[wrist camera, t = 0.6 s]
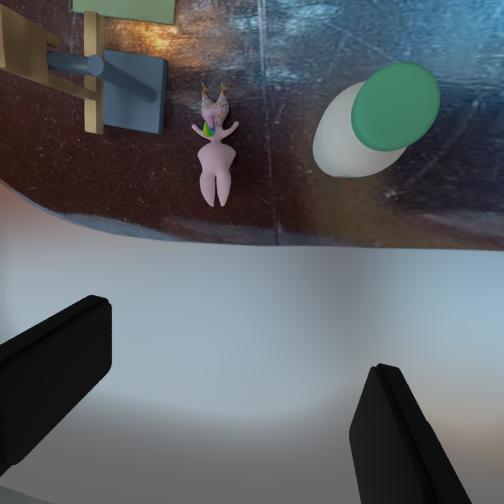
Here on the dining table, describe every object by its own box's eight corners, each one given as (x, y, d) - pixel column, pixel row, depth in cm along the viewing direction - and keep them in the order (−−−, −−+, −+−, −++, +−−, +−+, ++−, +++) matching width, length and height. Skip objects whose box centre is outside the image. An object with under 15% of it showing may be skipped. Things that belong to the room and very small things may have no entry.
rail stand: (92, 50, 36) (5, -3, 26) (168, 61, 35) (110, 10, 24) (92, 122, 39) (13, 101, 28) (162, 135, 38) (108, 118, 27)
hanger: (92, 16, 32) (-25, -74, 20) (104, 18, 32) (-7, -73, 20) (92, 132, 36) (-6, 111, 24) (103, 134, 36) (9, 114, 24)
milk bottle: (309, 176, 36) (320, 174, 17) (315, 112, 34) (335, 27, 15) (370, 179, 35) (456, 179, 16) (380, 113, 32) (494, 20, 13)
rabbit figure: (197, 97, 37) (199, 207, 38) (178, 72, 31) (182, 204, 32) (242, 93, 36) (242, 206, 37) (231, 67, 30) (232, 203, 31)
